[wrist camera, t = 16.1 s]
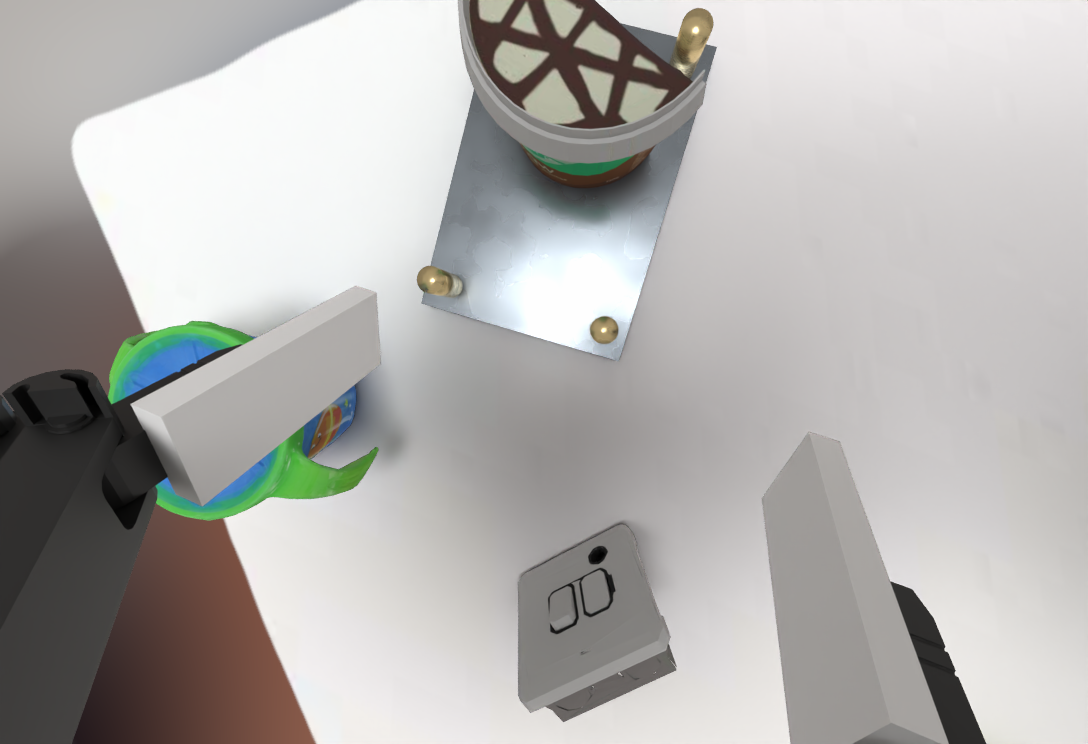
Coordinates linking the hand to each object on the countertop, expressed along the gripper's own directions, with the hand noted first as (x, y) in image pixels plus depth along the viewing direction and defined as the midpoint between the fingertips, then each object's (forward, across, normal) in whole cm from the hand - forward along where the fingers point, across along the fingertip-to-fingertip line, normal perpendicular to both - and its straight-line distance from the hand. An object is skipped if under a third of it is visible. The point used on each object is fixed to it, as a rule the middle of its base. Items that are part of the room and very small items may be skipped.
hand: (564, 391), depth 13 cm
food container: (+20, -7, +4) cm, 21 cm away
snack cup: (+10, -20, -15) cm, 27 cm away
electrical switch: (+9, +4, -22) cm, 25 cm away
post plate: (+20, -6, +1) cm, 21 cm away
